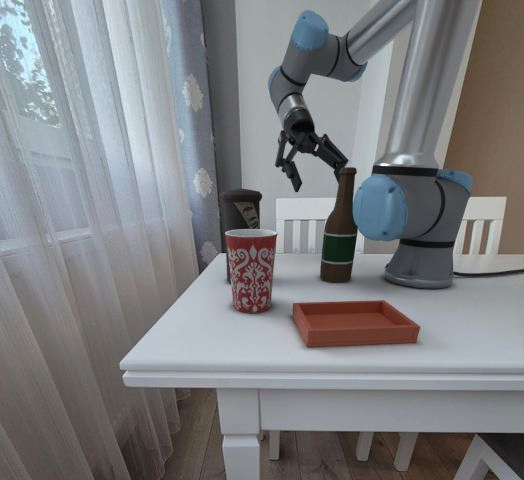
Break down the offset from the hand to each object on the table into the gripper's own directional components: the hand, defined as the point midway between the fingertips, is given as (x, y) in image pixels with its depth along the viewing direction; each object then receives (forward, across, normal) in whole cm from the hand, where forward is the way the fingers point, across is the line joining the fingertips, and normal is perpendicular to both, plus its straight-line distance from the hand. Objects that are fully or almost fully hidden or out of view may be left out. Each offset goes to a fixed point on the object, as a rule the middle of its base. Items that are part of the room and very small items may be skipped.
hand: (323, 188), depth 72 cm
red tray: (+39, +16, +10) cm, 43 cm away
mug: (+27, +26, -2) cm, 37 cm away
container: (+16, +22, -13) cm, 30 cm away
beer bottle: (+21, 0, -8) cm, 22 cm away
